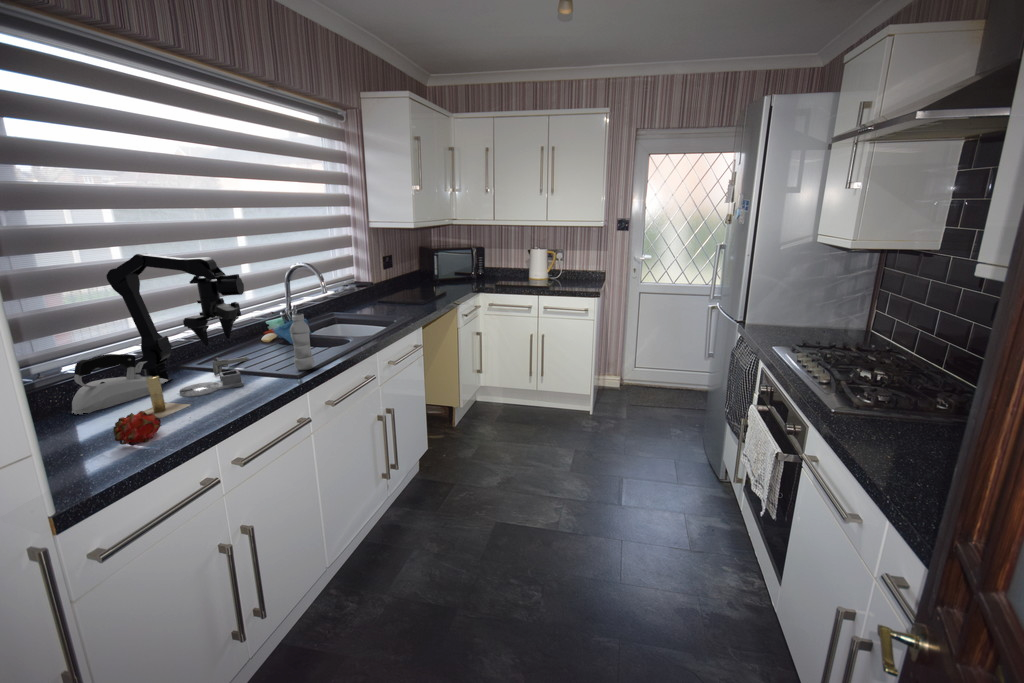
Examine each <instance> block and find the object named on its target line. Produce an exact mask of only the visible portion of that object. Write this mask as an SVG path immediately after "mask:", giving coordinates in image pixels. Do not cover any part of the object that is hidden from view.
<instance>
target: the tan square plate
mask: <svg viewBox="0 0 1024 683" xmlns="http://www.w3.org/2000/svg"><path fill="white" fill-rule="evenodd" d="M164 402H165V401H164ZM165 406H166V410H165V411H163V412H159V413H154V411H153V407H150V408H147V409H145V410H143V411H144V412H146V414H151V413H153V414H154V415H155V416H156V417H157V418H159V419H163V418H165V417H167V416H170V415H171V414H175V413H176V412H178V411H179V412H180V411H181V410H183V409H185V408H188V407H190V406H191V404H188V403H178V402H177V403H174V402H165ZM137 414H138V413H136V414H135V413H134V415H137Z"/></svg>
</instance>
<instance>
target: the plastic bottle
mask: <svg viewBox="0 0 1024 683" xmlns="http://www.w3.org/2000/svg"><path fill="white" fill-rule="evenodd" d="M304 315H305V314H303V313H295V314H292V316H291V317H292V319H291V320H292V321H293V322H292V323H291V325H290V326H289V334H290V337H291V341H292V345H293V350H294V352H293V353H294V361H293V362H294V363H293V364H294V367H295V368H296V370H298V371H308V370H311V369H314V367H315V359H314V356H313V352H312V348H311V341H310V340H311V339H310V333H311V332H310V330H311V329H310V327H309V325H308V323H306V322H305V317H304Z"/></svg>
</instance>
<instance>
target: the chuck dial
mask: <svg viewBox="0 0 1024 683" xmlns="http://www.w3.org/2000/svg"><path fill="white" fill-rule="evenodd" d="M218 375H219V379H220V381H216V382H214V381H208V382H199V383H194V384H191V385H187V386H185V387H183V388H181V389H180V390H179V396H181V397H189V398H192V397H200V396H204V395H208V394H211V393H214V392H216V391H218V390H223V389H224V390H225V389H227V388H228V389H229V388H230V389H233V388H238V387H243V386H244V382H243V380H242V375H241V372H240V370H239V369H232V370H228V371H221V373H219V374H218Z"/></svg>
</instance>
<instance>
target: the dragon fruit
mask: <svg viewBox="0 0 1024 683" xmlns="http://www.w3.org/2000/svg"><path fill="white" fill-rule="evenodd" d="M144 411H145V410H139V412H137V413H136V414H137V415H135V413H132V412H131V413H130V414H128V415H126V417H125V416H124V417H123V416H122V417H119V418H118V420H117V421H116V422H115V423H114V426H113V428H112V430H113V431H112V432H113V435H114V440H115V441H116V442H119V444H120V445H122V446H123V445H128V444H129V445H130V446H131V447H133V446H135V444H136V443H140V444H141V443H148V442H149V439H153V438H154V436H155V434H156V435H157V434H158V433H157V432H158V431H159V430H160V428H161V427H162V424H161V423H162V420H161V418H157V417H156V416H155V415H154V414H153V413H151V414H146V412H144Z"/></svg>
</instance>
